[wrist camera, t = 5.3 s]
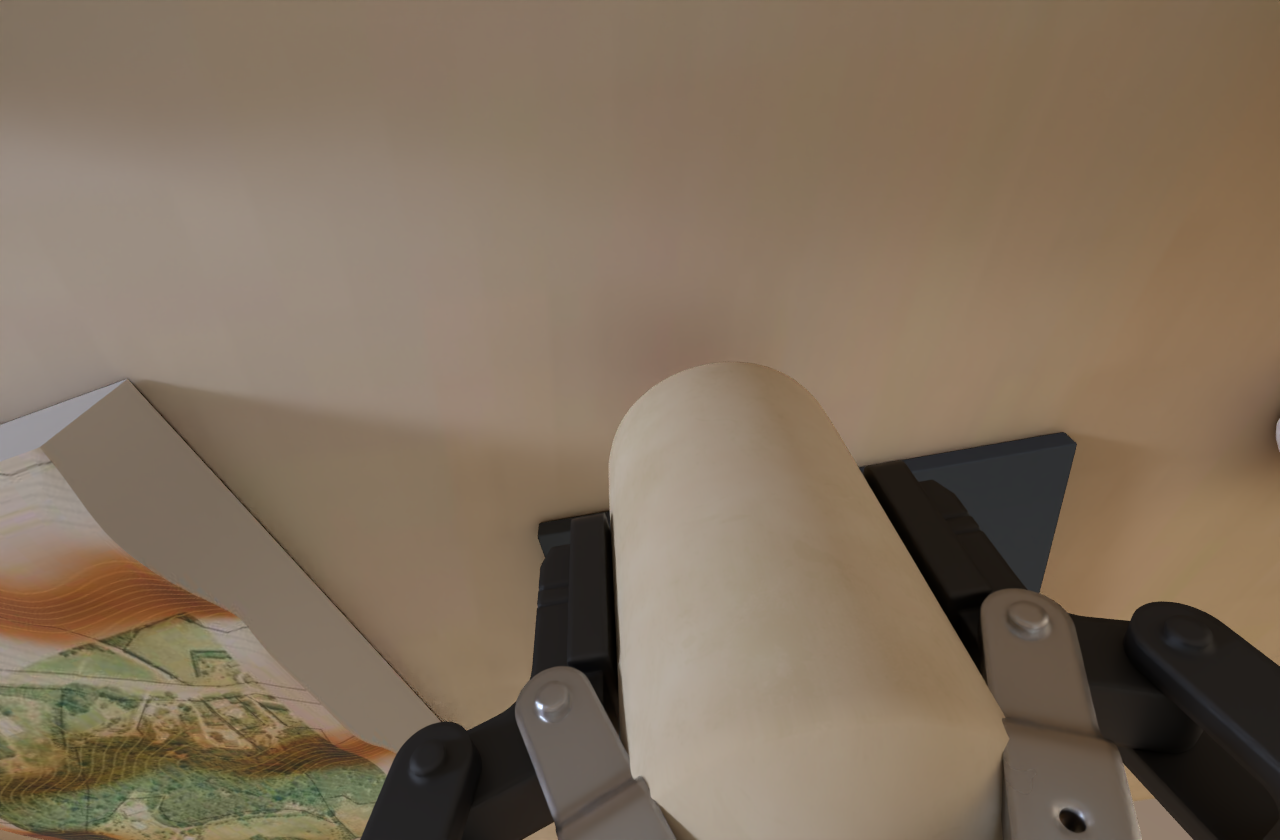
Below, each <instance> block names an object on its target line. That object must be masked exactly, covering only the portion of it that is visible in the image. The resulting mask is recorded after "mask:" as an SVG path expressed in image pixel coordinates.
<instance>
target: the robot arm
mask: <svg viewBox="0 0 1280 840" xmlns="http://www.w3.org/2000/svg"><path fill="white" fill-rule="evenodd" d="M863 476H864V478H865V479H866V481H867V483H868V484H869V486H870V488H871V489H872V491H873V493H874V494H875V496H876V498H877V499H878V501H879V503H880V505H881V506H882V508H883V510H884V511H885V513H886V515H887V516H888V518H889V520H890V521H891V523H892V525H893V527H894V528H895V530H896V532H897V533H898V535H899V537H900V538H901V540H902V542H903V543H904V545H905V547H906V549H907V550H908V552H909V554H910V555H911V557H912V559H913V560H914V562H915V564H916V565H917V567H918V569H919V571H920V572H921V574H922V576H923V577H924V579H925V581H926V582H927V584H928V586H929V587H930V589H931V591H932V592H933V594H934V596H935V598H936V599H937V601H938V603H939V604H940V606H941V608H942V609H943V611H944V613H945V614H946V616H947V618H948V620H949V621H950V623H951V625H952V626H953V628H954V630H955V631H956V633H957V635H958V636H959V638H960V640H961V642H962V643H963V645H964V647H965V648H966V650H967V652H968V653H969V655H970V657H971V658H972V660H973V662H974V664H975V665H976V667H977V669H978V670H979V672H980V674H981V675H982V677H983V679H984V680H985V682H986V684H987V686H988V688H989V690H990V692H991V693H992V695H993V697H994V698H995V700H996V702H997V704H998V705H999V707H1000V709H1001V710H1002V712H1003V714H1004V716H1005V718H1002V722H1003V725H1004V728H1005V730H1006V733H1007V735H1008V737H1009V741H1008V743H1007V745H1006V747H1005V749H1004V751H1003V776H1002V809H1001V823H1002V833H1003V840H1142V836H1141V832H1140V828H1139V825H1138V821H1137V817H1136V813H1135V809H1134V805H1133V801H1132V797H1131V793H1130V789H1129V785H1128V781H1127V777H1126V773H1125V769H1124V765H1123V763H1124V764H1125V766H1126V767H1127V768H1128V769H1129V770H1130V771H1131V772H1132V773H1133V774H1134V775H1135V776H1136V778H1137V779H1138V780H1139V781H1140V782H1141V783H1142V784H1143V785H1144V786H1145V787H1146V788H1147V790H1148V791H1149V792H1150V793H1151V794H1152V795H1153V796H1154V797H1155V798H1156V799H1157V800H1158V801H1159V802H1160V804H1161V805H1162V806H1163V807H1164V808H1165V809H1166V810H1167V811H1168V812H1169V813H1170V815H1171V816H1172V817H1173V818H1174V819H1175V820H1176V821H1177V822H1178V823H1179V824H1180V825H1181V827H1182V828H1183V829H1184V830H1185V831H1186V832H1187V833H1188V834H1189V835H1190V836H1191V837H1192V838H1193V840H1280V666H1278V665H1277V664H1276V663H1274V662H1273V661H1272V660H1270V659H1269V658H1268V657H1267V656H1265V655H1264V654H1263V653H1261V652H1260V651H1259V650H1257V649H1256V648H1255V647H1253V646H1252V645H1251V644H1250V643H1248V642H1247V641H1246V640H1244V639H1243V638H1242V637H1240V636H1239V635H1238V634H1236V633H1235V632H1234V631H1233V630H1231V629H1230V628H1229V627H1227V626H1226V625H1225V624H1223V623H1222V622H1221V621H1219V620H1218V619H1216V618H1215V617H1213V616H1211V615H1209V614H1208V613H1206V612H1203V611H1201V610H1199V609H1197V608H1194V607H1191V606H1188V605H1184V604H1180V603H1174V602H1152V603H1148V604H1145V605H1143V606H1141V607H1139V608H1138V609H1137V610H1136V611H1135V612H1134V614H1133V616H1132V618H1131V621H1124V620H1114V619H1104V618H1094V617H1085V616H1078V615H1074V614H1070V613H1067V612H1066V611H1065V610H1064V609H1063V608H1062V607H1061V606H1060V605H1059V604H1058V603H1056V602H1055V601H1053V600H1052V599H1050V598H1048V597H1046V596H1044V595H1042V594H1039V593H1037V592H1033V591H1030V590H1028V589H1027V588H1026V587H1025V586H1024V585H1023V583H1022V582H1021V581H1020V579H1019V578H1018V577H1017V575H1016V574H1015V573H1014V572H1013V570H1012V569H1011V568H1010V566H1009V565H1008V564H1007V562H1006V561H1005V560H1004V558H1003V557H1002V556H1001V554H1000V553H999V552H998V550H997V549H996V548H995V546H994V545H993V544H992V542H991V541H990V540H989V538H988V537H987V536H986V534H985V533H984V532H983V531H981V530H980V526H979V525H978V524H977V523H976V521H975V520H974V519H973V517H972V516H969V512H968V511H967V509H966V508H965V507H964V505H963V504H962V503H961V501H960V500H959V499H958V497H957V496H956V495H955V493H953V492H951V491H950V490H948V489H947V488H945V487H944V486H942V485H941V484H939V483H938V482H936V481H934V480H933V479H932V480H926V481H921V482H918V481H917V479H916V478H915V476H914V475H913V473H912V472H911V470H910V469H909V468H908V466H907V465H906V464H905V462H903V461H902V460H898V461H893V462H887V463H882V464H876V465H871V466H866V467H865V468H864V472H863ZM537 604H538V608H537V616H536V628H535V640H534V653H533V665H532V673H531V677H530V680H529V681H528V682H527V683H526V685H525V686H524V687H523V689H522V690H521V692H520V694H519V696H518V698H517V701H516V702H515V703H514V704H513V705H512V706H511V707H510V708H508V709H507V710H506V711H504V712H503V713H501V714H499V715H498V716H496V717H494V718H492V719H490V720H488V721H486V722H484V723H482V724H480V725H478V726H476V727H474V728H472V729H470V730H468V731H466V730H465V729H464V728H463V727H462V726H460V725H458V724H456V723H453V722H438V723H434V724H431V725H428V726H426V727H424V728H422V729H421V730H419V731H417V732H416V733H415V734H413V735H412V736H411V737H410V738H409V739H408V740H407V741H406V742H405V743H404V744H403V745H402V747H401V748H400V750H399V751H398V753H397V754H396V756H395V758H394V760H393V762H392V765H391V767H390V770H389V772H388V774H387V777H386V779H385V782H384V784H383V786H382V789H381V791H380V793H379V796H378V798H377V801H376V803H375V805H374V808H373V810H372V813H371V815H370V817H369V820H368V822H367V825H366V827H365V829H364V832H363V834H362V836H361V839H360V840H522V839H524V838H526V837H528V836H529V835H531V834H533V833H535V832H537V831H538V830H540V829H542V828H544V827H546V826H547V825H549V824H551V823H553V822H555V825H556V833H557V837H558V840H677V839H676V838H675V836H674V834H673V832H672V830H671V828H670V826H669V824H668V822H667V821H666V819H665V817H664V815H663V813H662V811H661V809H660V807H659V805H658V804H657V802H656V801H655V800H653V799H652V798H651V794H650V789H649V787H648V785H647V783H646V782H645V780H644V779H643V777H642V776H638V777H637V778H633V777H632V774H631V769H630V757H629V755H628V754H627V752H626V750H625V748H624V746H623V744H622V742H621V740H620V738H619V732H620V718H619V697H618V675H617V654H616V633H615V611H614V590H613V568H612V547H611V531H610V528H609V524H608V520H607V517H606V515H605V513H602V514H597V515H591V516H586V517H580V518H575V519H572V520H571V530H570V544H566V545H561V546H555V547H551V549H550V550H549V552H548V554H547V556H546V558H545V560H544V561H543V563H542V565H541V567H540V578H539V591H538V603H537Z"/></svg>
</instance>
